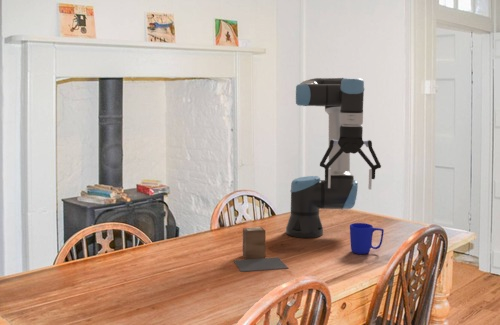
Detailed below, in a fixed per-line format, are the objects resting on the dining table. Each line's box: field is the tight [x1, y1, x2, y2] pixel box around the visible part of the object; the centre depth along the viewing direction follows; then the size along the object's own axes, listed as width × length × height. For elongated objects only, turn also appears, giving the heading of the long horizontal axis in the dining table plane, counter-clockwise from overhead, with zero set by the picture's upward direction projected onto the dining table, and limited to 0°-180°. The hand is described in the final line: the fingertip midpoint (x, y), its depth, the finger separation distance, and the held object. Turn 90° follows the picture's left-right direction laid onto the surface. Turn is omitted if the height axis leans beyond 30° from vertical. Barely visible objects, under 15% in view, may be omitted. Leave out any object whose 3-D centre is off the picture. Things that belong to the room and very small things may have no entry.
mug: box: [349, 222, 384, 255], centre depth 209 cm, size 8×12×10 cm
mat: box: [233, 256, 289, 273], centre depth 195 cm, size 12×16×1 cm
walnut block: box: [242, 226, 266, 260], centre depth 203 cm, size 5×7×10 cm
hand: (349, 188), depth 195 cm, fingers open, 13 cm apart
